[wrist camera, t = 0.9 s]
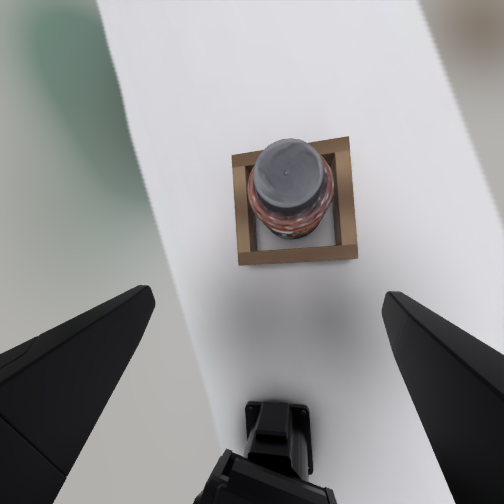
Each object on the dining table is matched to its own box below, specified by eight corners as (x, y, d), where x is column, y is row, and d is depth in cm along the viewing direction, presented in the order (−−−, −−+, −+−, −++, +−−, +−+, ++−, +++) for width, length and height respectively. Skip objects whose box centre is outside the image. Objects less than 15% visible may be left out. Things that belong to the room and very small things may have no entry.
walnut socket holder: (349, 257, 23) (358, 258, 19) (247, 264, 25) (238, 265, 21) (341, 153, 23) (348, 136, 20) (240, 168, 25) (231, 155, 22)
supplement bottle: (298, 251, 24) (296, 248, 13) (253, 218, 25) (215, 188, 14) (334, 203, 23) (366, 156, 12) (286, 171, 24) (275, 101, 13)
